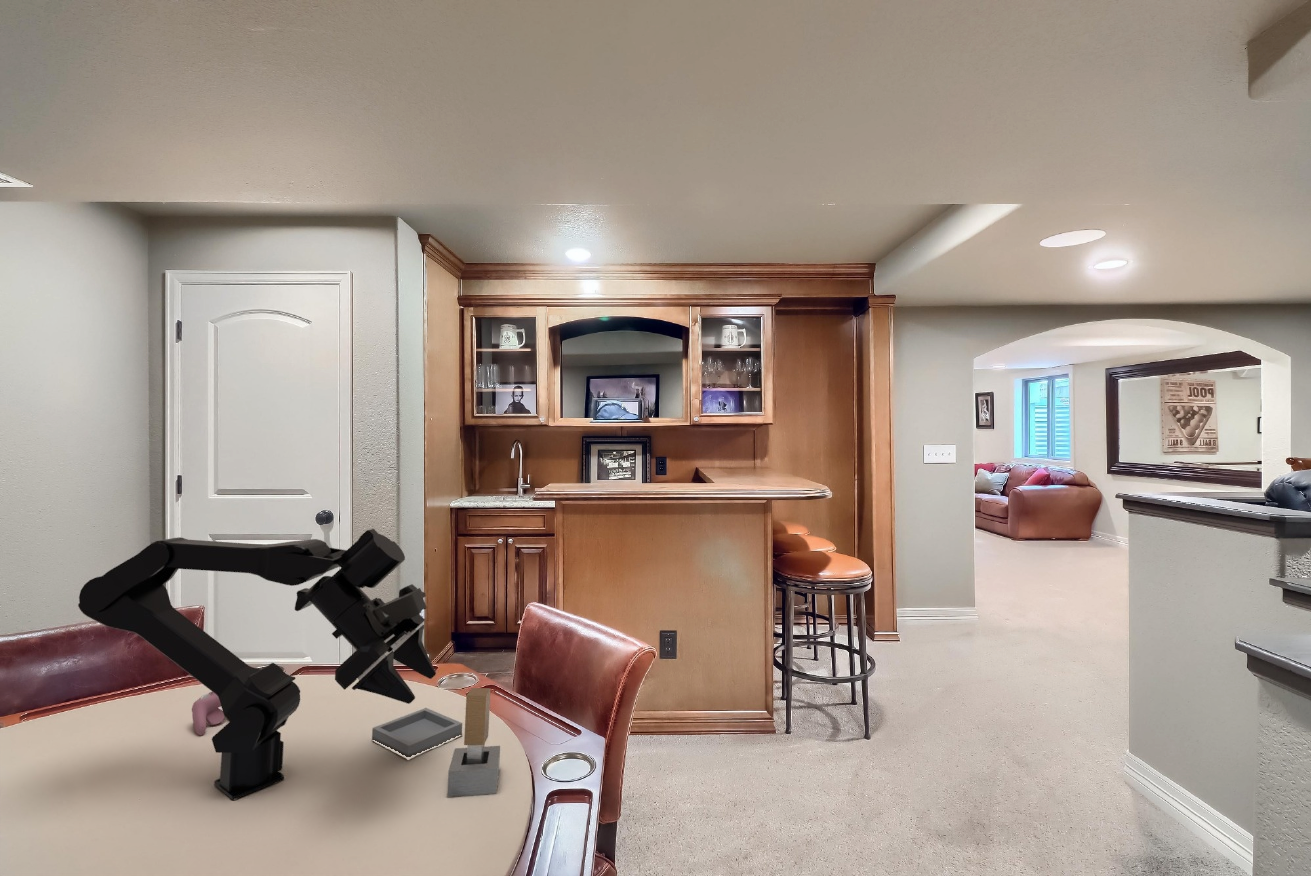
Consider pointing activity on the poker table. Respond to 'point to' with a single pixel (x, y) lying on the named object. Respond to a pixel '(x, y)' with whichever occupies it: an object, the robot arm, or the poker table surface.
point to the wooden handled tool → (476, 724)
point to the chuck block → (473, 773)
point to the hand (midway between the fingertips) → (423, 687)
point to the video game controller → (206, 712)
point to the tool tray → (417, 732)
